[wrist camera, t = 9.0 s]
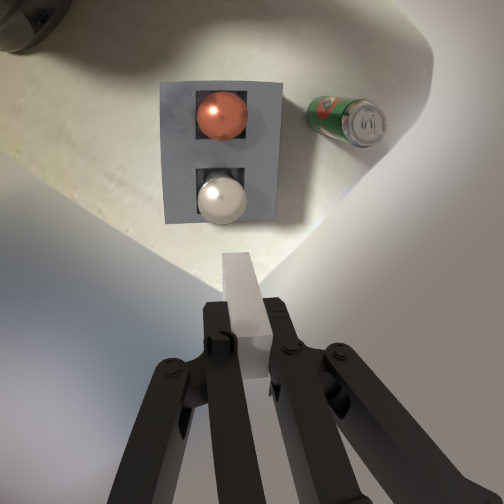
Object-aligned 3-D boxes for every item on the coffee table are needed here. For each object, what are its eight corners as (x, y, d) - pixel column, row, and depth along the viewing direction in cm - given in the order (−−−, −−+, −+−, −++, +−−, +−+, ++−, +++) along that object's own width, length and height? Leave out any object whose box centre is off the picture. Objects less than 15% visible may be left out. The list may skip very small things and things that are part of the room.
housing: (168, 85, 32) (159, 82, 25) (267, 85, 34) (282, 83, 27) (171, 199, 39) (165, 224, 32) (261, 197, 41) (274, 220, 34)
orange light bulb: (198, 93, 31) (197, 92, 24) (239, 93, 32) (248, 92, 25) (198, 131, 33) (196, 141, 26) (237, 131, 34) (247, 140, 27)
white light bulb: (198, 161, 34) (197, 179, 27) (238, 160, 35) (247, 178, 28) (199, 198, 36) (198, 225, 29) (237, 197, 37) (246, 224, 30)
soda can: (304, 131, 37) (343, 147, 27) (306, 94, 35) (347, 96, 25) (339, 134, 38) (386, 152, 28) (342, 98, 36) (391, 104, 25)
